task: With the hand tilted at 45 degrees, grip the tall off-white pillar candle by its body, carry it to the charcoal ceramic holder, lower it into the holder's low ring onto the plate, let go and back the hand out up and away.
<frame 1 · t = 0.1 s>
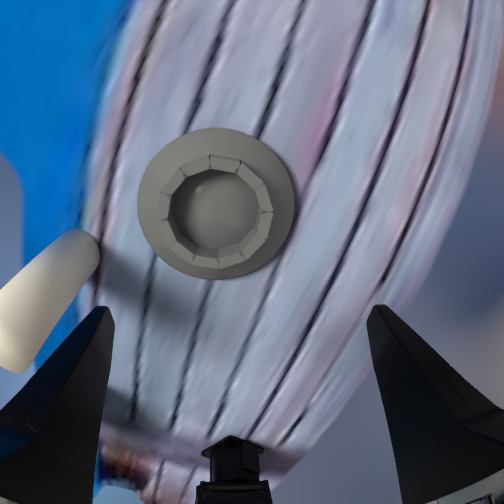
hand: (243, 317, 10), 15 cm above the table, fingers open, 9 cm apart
candle: (78, 252, 25), on the table
holder: (215, 205, 24), on the table
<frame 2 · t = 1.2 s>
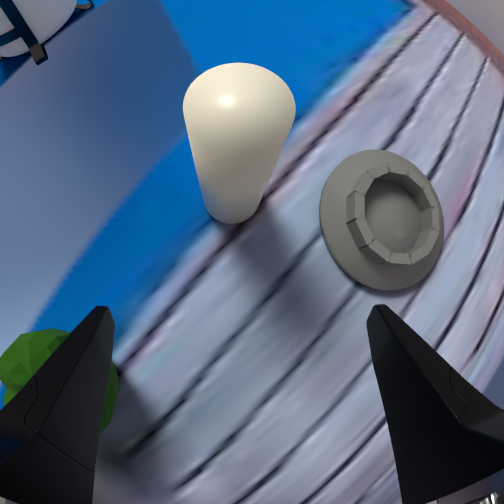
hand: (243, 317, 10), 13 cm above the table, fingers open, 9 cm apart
coffee press: (37, 39, 25), on the table
candle: (231, 195, 24), on the table
holder: (385, 218, 25), on the table
bell pepper: (85, 373, 22), on the table
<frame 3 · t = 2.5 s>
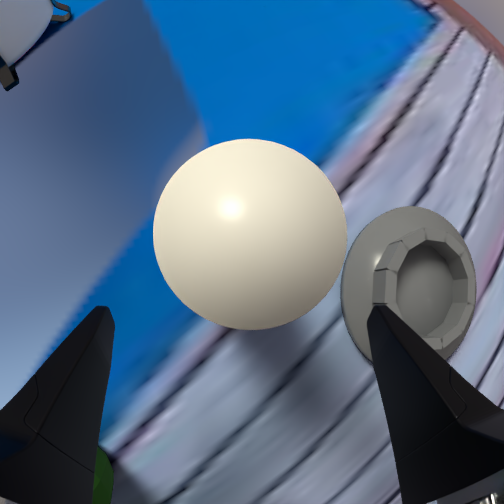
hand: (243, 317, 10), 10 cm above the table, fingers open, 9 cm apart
coffee press: (10, 58, 21), on the table
candle: (234, 271, 20), on the table
holder: (415, 290, 21), on the table
bell pepper: (77, 456, 17), on the table
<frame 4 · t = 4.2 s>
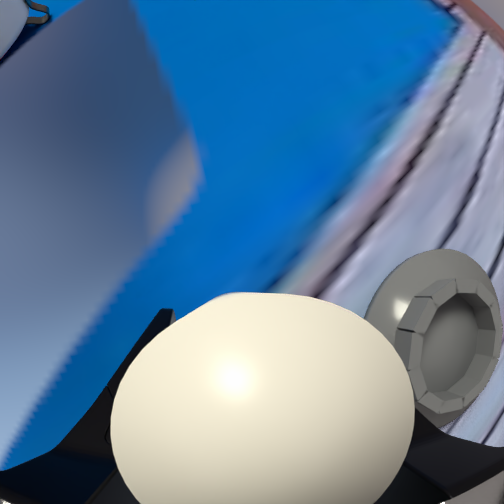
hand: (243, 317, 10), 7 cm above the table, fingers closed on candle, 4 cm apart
candle: (236, 333, 16), on the table, touching gripper
holder: (437, 342, 17), on the table
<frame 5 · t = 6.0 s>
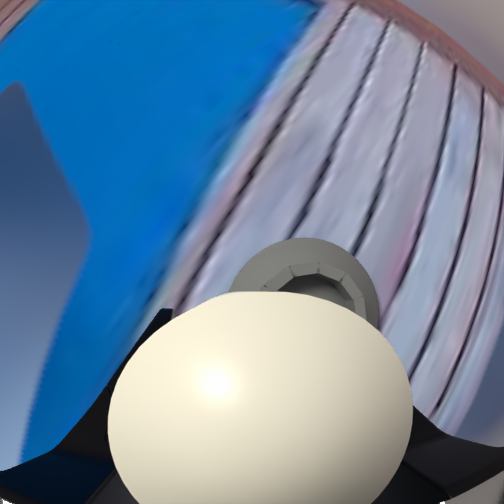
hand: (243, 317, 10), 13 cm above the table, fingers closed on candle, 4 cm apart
candle: (235, 332, 16), point 7 cm above the table, touching gripper
holder: (303, 318, 24), on the table
when the fingers open (8 cm above the table, at t = 8.3 s): candle stays where it is, resting on holder.
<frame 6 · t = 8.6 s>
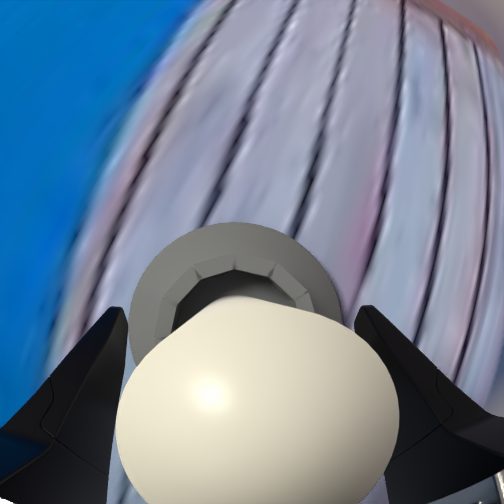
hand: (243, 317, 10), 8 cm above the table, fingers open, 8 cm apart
candle: (236, 334, 17), point 1 cm above the table, touching holder
holder: (235, 330, 18), on the table
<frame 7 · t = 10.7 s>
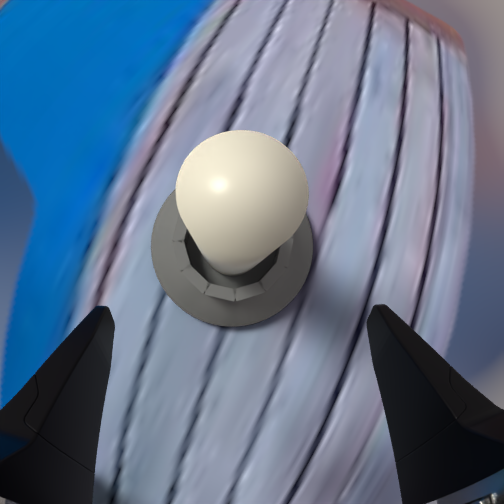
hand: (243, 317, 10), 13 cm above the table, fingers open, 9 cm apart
candle: (232, 245, 23), point 1 cm above the table, touching holder
holder: (232, 244, 24), on the table
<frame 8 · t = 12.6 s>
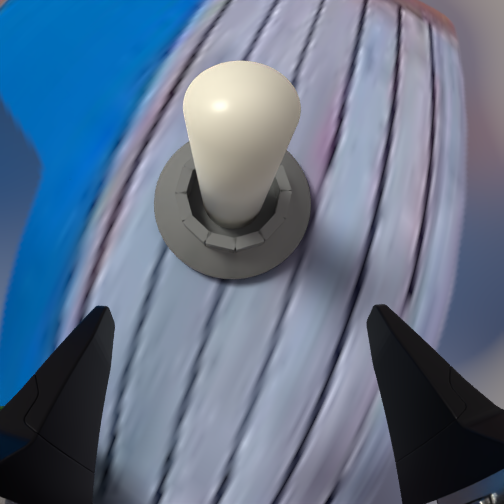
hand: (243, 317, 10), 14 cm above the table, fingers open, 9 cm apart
candle: (232, 200, 24), point 1 cm above the table, touching holder
holder: (232, 201, 25), on the table
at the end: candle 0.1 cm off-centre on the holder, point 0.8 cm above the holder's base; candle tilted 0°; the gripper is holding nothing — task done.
